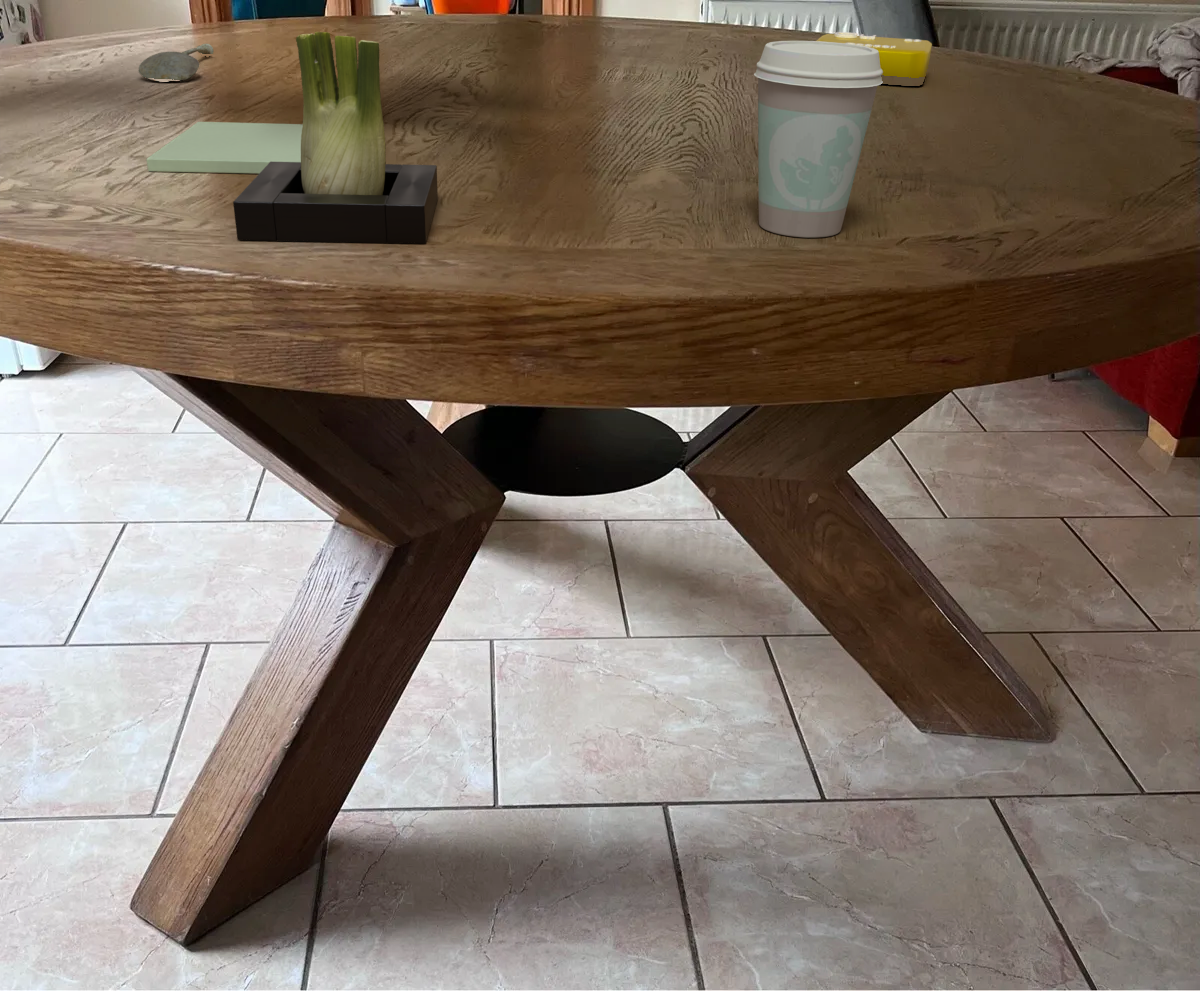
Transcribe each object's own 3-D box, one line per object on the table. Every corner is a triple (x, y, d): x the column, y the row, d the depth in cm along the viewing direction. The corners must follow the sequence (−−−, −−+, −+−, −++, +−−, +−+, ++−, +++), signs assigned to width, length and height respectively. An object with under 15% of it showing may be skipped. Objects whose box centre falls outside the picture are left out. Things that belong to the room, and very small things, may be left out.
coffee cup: (730, 235, 77) (747, 49, 71) (749, 207, 84) (766, 36, 79) (856, 249, 75) (884, 59, 70) (864, 219, 83) (890, 44, 77)
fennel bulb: (398, 221, 77) (389, 35, 72) (337, 233, 74) (322, 38, 69) (352, 204, 81) (340, 25, 75) (291, 214, 78) (274, 28, 72)
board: (147, 171, 88) (145, 158, 87) (199, 132, 102) (197, 121, 101) (354, 176, 89) (353, 163, 88) (377, 137, 103) (376, 126, 102)
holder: (237, 240, 72) (232, 201, 71) (273, 195, 82) (269, 161, 81) (425, 244, 73) (424, 205, 72) (437, 199, 83) (436, 165, 82)
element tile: (805, 79, 147) (809, 40, 144) (819, 65, 159) (823, 29, 157) (922, 88, 143) (929, 48, 141) (927, 73, 156) (933, 36, 153)
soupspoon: (132, 88, 126) (192, 92, 126) (128, 56, 124) (189, 61, 125) (182, 54, 145) (234, 59, 145) (179, 27, 143) (232, 31, 144)
